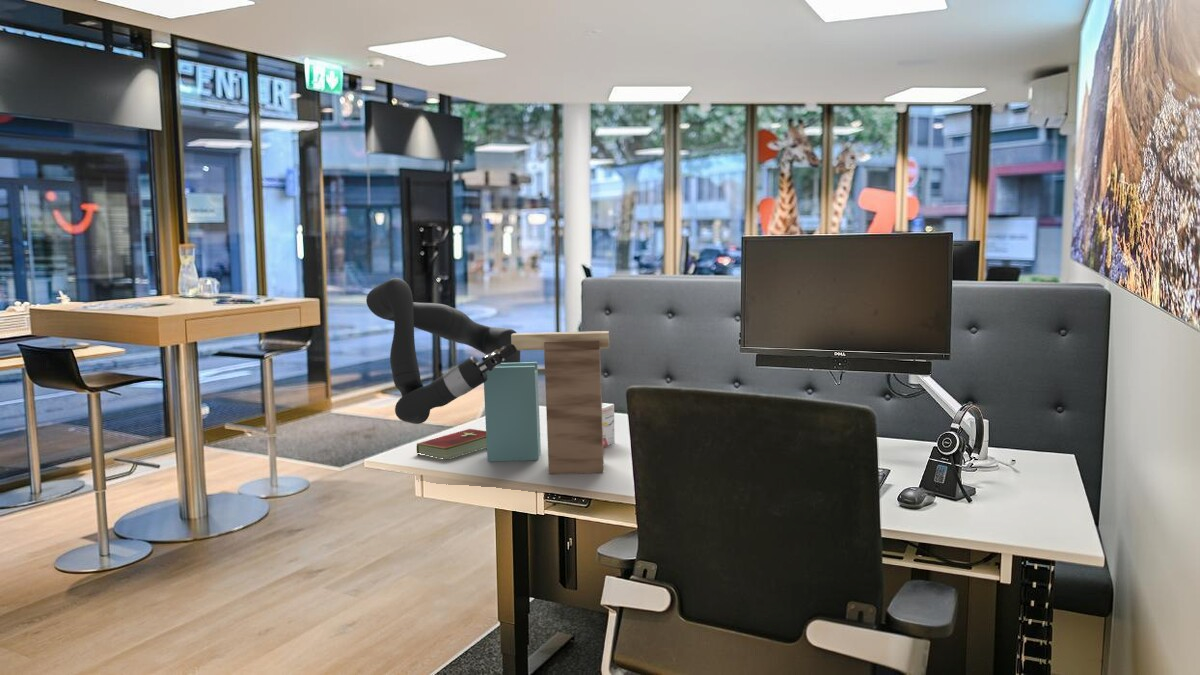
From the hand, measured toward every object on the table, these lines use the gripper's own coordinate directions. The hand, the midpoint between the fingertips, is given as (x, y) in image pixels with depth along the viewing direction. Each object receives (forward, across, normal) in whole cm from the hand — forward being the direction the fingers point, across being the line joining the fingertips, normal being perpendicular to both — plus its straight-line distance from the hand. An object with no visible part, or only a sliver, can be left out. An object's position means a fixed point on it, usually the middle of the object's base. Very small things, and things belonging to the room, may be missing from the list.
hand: (517, 344), depth 223 cm
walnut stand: (-4, 0, +36) cm, 36 cm away
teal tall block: (-20, +13, +27) cm, 36 cm away
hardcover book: (-36, +23, +19) cm, 46 cm away
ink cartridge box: (+1, +24, +39) cm, 46 cm away
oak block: (+9, 0, +7) cm, 11 cm away
